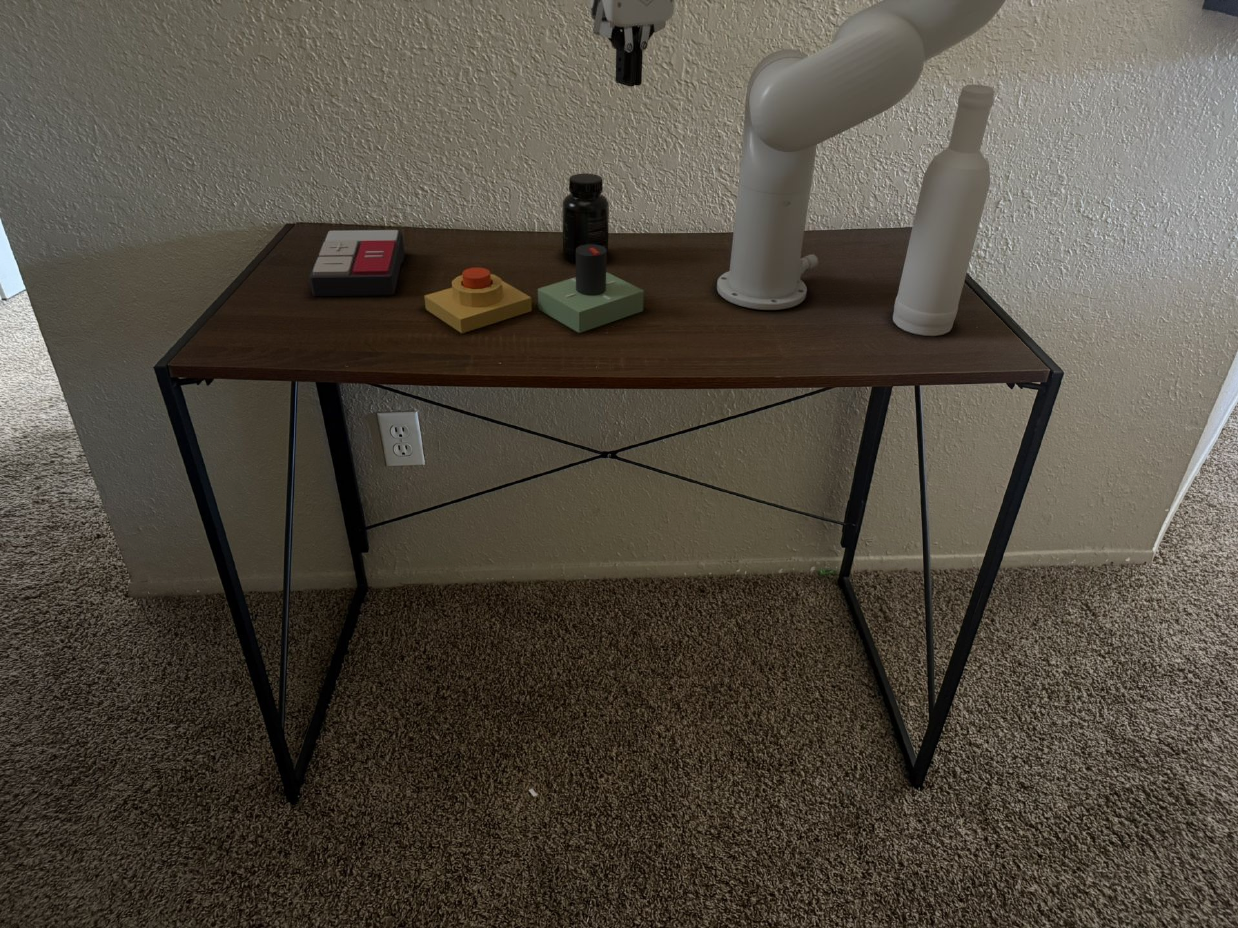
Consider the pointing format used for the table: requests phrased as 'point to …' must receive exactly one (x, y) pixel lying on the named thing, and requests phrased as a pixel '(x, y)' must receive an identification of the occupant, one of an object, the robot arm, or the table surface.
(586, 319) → the dial panel
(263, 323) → the table surface
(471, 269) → the button
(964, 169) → the bottle
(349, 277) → the calculator
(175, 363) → the table surface
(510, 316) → the tan flat block
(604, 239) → the supplement bottle
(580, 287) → the lock dial
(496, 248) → the table surface
